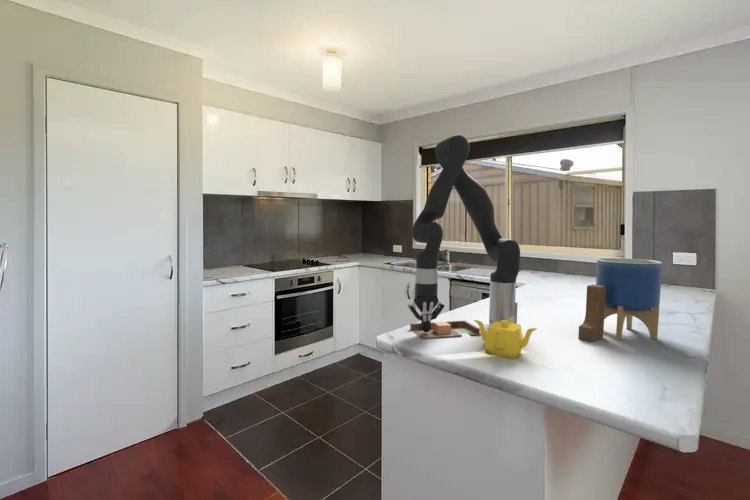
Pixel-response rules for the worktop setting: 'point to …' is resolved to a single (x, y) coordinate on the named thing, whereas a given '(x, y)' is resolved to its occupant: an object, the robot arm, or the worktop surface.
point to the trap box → (456, 329)
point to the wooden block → (593, 314)
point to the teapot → (504, 338)
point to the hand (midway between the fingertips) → (425, 331)
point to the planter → (631, 291)
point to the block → (442, 328)
